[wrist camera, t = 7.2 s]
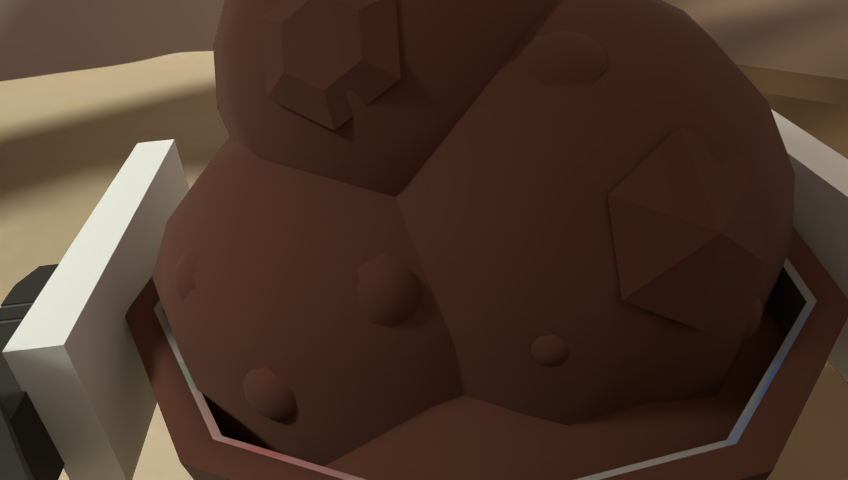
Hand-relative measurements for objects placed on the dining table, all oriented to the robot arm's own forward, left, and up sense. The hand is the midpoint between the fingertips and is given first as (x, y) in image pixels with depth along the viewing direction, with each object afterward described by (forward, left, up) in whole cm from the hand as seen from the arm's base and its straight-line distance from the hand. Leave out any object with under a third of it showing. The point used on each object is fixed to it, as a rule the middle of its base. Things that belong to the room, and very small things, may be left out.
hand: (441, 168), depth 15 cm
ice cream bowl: (+3, -3, -9) cm, 10 cm away
